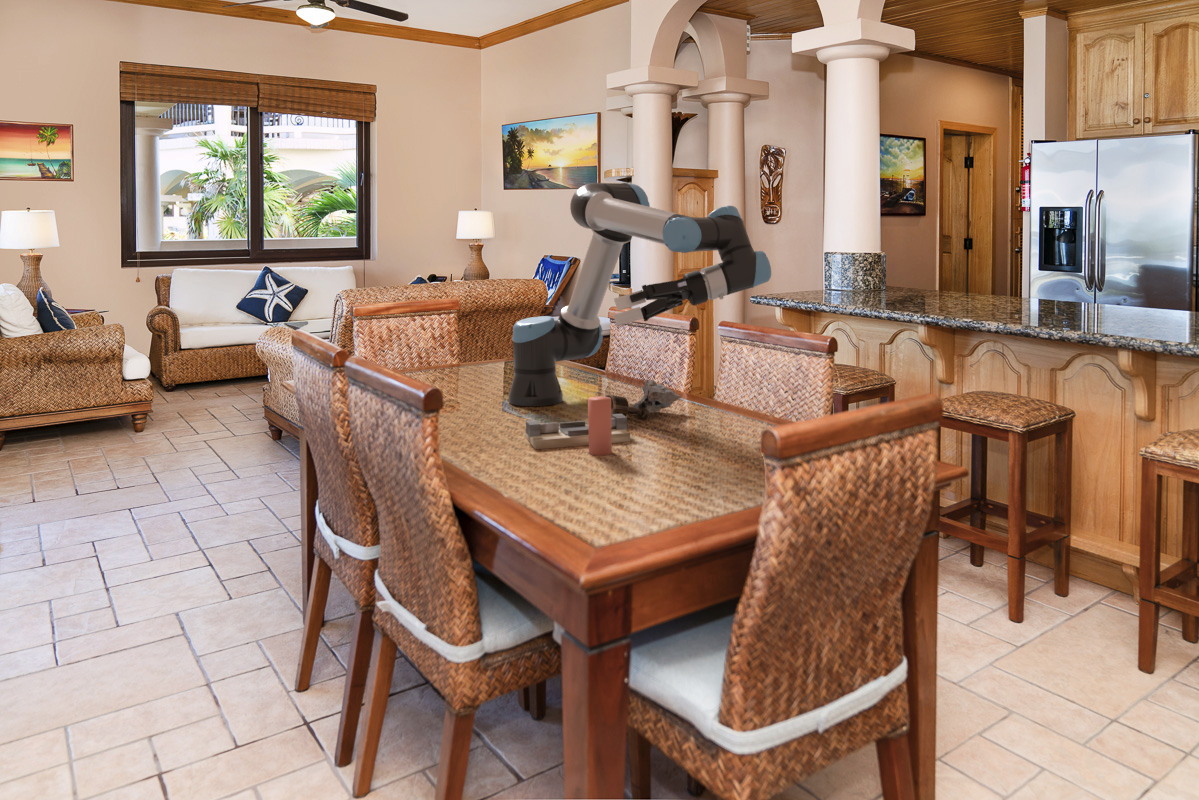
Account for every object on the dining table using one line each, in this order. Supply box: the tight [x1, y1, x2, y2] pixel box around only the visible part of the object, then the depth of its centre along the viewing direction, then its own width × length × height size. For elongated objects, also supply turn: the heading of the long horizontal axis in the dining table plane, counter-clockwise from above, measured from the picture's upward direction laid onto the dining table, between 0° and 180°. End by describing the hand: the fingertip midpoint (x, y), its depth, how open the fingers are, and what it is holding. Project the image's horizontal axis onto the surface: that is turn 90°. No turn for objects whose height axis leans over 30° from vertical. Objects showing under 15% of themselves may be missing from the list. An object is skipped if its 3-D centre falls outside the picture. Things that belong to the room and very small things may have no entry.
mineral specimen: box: [629, 379, 682, 415], centre depth 234 cm, size 11×9×12 cm
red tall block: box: [587, 395, 613, 457], centre depth 195 cm, size 5×5×12 cm
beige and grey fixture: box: [524, 414, 631, 450], centre depth 208 cm, size 12×23×5 cm, turn 106°
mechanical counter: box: [604, 394, 650, 420], centre depth 226 cm, size 7×13×10 cm
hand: (615, 313), depth 205 cm, fingers open, 13 cm apart
